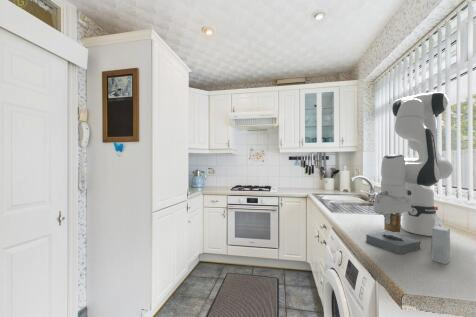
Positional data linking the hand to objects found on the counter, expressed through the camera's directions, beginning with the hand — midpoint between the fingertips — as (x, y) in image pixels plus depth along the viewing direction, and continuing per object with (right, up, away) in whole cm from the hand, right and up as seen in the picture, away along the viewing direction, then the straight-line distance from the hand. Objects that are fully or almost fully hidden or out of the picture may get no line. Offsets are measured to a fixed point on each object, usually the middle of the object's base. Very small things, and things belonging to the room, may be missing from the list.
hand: (392, 223), depth 95 cm
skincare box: (+8, -10, -14) cm, 19 cm away
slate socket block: (0, -10, 0) cm, 10 cm away
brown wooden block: (0, -3, 0) cm, 3 cm away
